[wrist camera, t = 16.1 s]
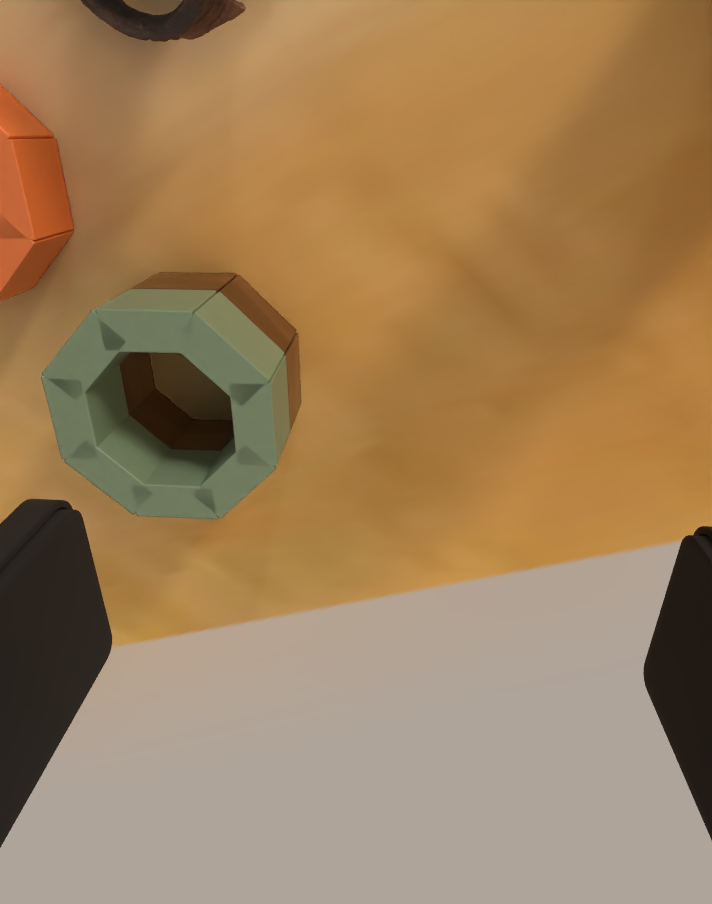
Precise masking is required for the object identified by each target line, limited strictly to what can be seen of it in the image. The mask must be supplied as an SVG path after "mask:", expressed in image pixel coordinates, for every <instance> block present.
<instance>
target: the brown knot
mask: <svg viewBox="0 0 712 904" xmlns="http://www.w3.org/2000/svg"><path fill="white" fill-rule="evenodd" d="M81 1H82V3H83V4H84V5H85V6H86V7H88V8H89V9H90V10H91V11H92V12H93V13H94V14H95V15H96V16H98V17H99V18H100V19H102V20H103V21H105V22H106V23H108V24H109V25H110V26H112V27H113V28H114V29H116V30H118V31H120V32H122V33H123V34H126V35H128V36H129V37H134V38H137V39H141V40H149V39H150V40H152V41H164V42H165V41H168V40H170V39H171V40H179V39H180V38H184V39H195V38H198V37H201V36H203V35H204V34H206V33H208V32H209V31H210V30H212V29H214V28H216V27H218V26H220V25H221V24H224V23H225V22H227V21H229V20H232V19H234V18H235V17H237V16H238V15H240V14H241V13H243V12H244V11H245V5H244V4H243V3H241V2H238V1H236V0H183V1H182V3H181V4H180V5H179V6H178V8H177V9H175V10H174V11H172V12H170V13H168V14H165V15H151V14H147V13H143V12H140V11H137V10H136V9H133V8H131V7H129V6H128V5H127V4H126V3H125V2H124V1H123V0H81Z"/></svg>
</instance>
